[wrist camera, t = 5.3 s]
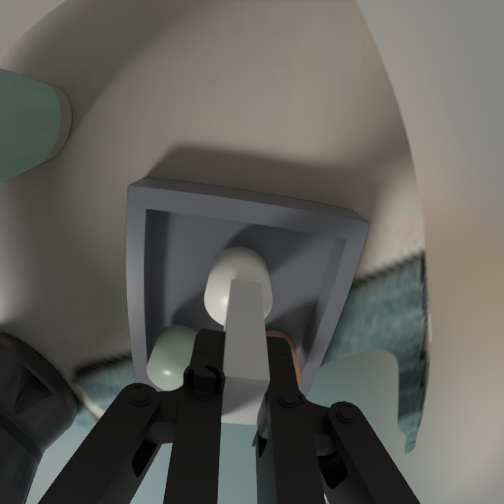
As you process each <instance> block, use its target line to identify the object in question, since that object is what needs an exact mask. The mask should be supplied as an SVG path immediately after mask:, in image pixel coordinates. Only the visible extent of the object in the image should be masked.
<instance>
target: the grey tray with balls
mask: <svg viewBox="0 0 504 504" xmlns="http://www.w3.org/2000/svg"><path fill="white" fill-rule="evenodd" d="M369 227H370V223H369V222H368V221H367V220H366V219H364V218H363V217H362V216H360V215H359V214H358V213H356V212H355V211H354V210H351V209H346V208H341V207H336V206H331V205H326V204H321V203H316V202H311V201H305V200H300V199H295V198H289V197H283V196H278V195H272V194H266V193H260V192H253V191H247V190H241V189H234V188H227V187H220V186H213V185H206V184H198V183H190V182H182V181H174V180H165V179H156V178H147V177H144V178H142V179H140V180H138V181H136V182H134V183H132V184H130V185H128V189H127V209H126V285H127V305H128V320H129V332H130V342H131V352H132V360H133V368H134V376H135V383H144V384H148V385H150V386H151V387H153V388H155V389H157V390H162V389H161V388H159V387H157V386H156V385H155V384H154V383H153V382H152V381H151V380H150V379H149V377H148V375H147V365H148V362H149V359H150V356H151V354H152V351H153V348H154V345H155V342H156V340H157V337H158V334H159V333H160V331H161V330H163V329H164V328H166V327H168V326H172V325H182V326H186V327H189V328H192V329H193V330H195V331H197V332H199V331H200V330H201V329H202V328H203V329H210V330H217V331H224V325H221V324H220V323H218V322H216V321H215V320H214V319H213V318H212V317H211V316H210V315H209V313H208V312H207V310H206V307H205V303H204V296H205V291H206V286H207V282H208V277H209V273H210V268H211V265H212V262H213V260H214V259H215V257H216V256H217V255H218V254H219V253H221V252H222V251H224V250H226V249H228V248H232V247H246V248H249V249H252V250H254V251H256V252H257V253H259V254H260V255H261V256H262V257H263V259H264V260H265V262H266V264H267V267H268V273H269V278H270V284H271V290H272V296H273V304H272V308H271V310H270V312H269V314H268V315H267V317H266V318H265V319H264V321H265V331H268V330H277V331H282V332H284V333H286V334H288V335H289V336H290V337H291V338H292V339H293V341H294V345H295V349H296V354H297V359H298V363H299V368H300V372H301V379H300V381H299V383H298V388H299V391H301V392H302V393H303V394H304V395H305V398H306V396H307V394H308V392H309V390H310V387H311V385H312V383H313V381H314V379H315V376H316V374H317V372H318V369H319V367H320V365H321V363H322V360H323V358H324V355H325V353H326V351H327V348H328V346H329V343H330V341H331V338H332V336H333V333H334V331H335V328H336V326H337V323H338V320H339V318H340V315H341V312H342V310H343V307H344V304H345V301H346V299H347V296H348V293H349V290H350V287H351V284H352V281H353V278H354V275H355V272H356V269H357V266H358V263H359V260H360V257H361V254H362V250H363V247H364V244H365V240H366V237H367V234H368V230H369ZM163 391H165V390H163Z"/></svg>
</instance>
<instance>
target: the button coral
mask: <svg viewBox="0 0 504 504" xmlns="http://www.w3.org/2000/svg"><path fill="white" fill-rule="evenodd" d="M265 332H266V336H273V337H283V338H285V339H286V340H287V342H288V343H289V344H290V346H291V351H292V356H293V361H294V362H293V363H294V366H295V372H296V377H297V382H298V383H299V381H300V379H301V372H300V368H299V363H298V359H297V354H296V349H295V345H294V341H293V339H292V338H291V337H290V336H289V335H288V334H286V333H284V332H282V331H277V330H268V331H265Z"/></svg>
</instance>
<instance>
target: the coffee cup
mask: <svg viewBox="0 0 504 504" xmlns="http://www.w3.org/2000/svg"><path fill="white" fill-rule="evenodd" d="M71 124H72V110H71V105H70V102H69V99H68V97H67V96H66V94H65V93H64V92H63V91H62V90H61V89H59V88H57V87H54V86H51V85H49V84H46V83H43V82H41V81H38V80H35V79H32V78H29V77H26V76H23V75H20V74H17V73H13V72H10V71H7V70H4V69H0V184H2V183H4V182H6V181H8V180H9V179H11V178H13V177H15V176H17V175H19V174H21V173H23V172H25V171H27V170H29V169H31V168H33V167H35V166H37V165H40V164H42V163H44V162H46V161H48V160H50V159H52V158H53V157H55V156H56V155H57V154H58V153H59V152H60V151H61V149H62V148H63V146H64V145H65V143H66V141H67V139H68V136H69V133H70V130H71Z"/></svg>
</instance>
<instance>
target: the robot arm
mask: <svg viewBox="0 0 504 504" xmlns="http://www.w3.org/2000/svg"><path fill="white" fill-rule="evenodd" d="M293 362H294V361H293V356H292V351H291V346H290V344H289V343H288V342H287V340H286V339H285V338H283V337H273V336H266V332H265V321H264V311H263V301H262V291H261V283H258V282H250V281H243V280H236V279H231V283H230V289H229V296H228V302H227V309H226V316H225V322H224V331H217V330H210V329H203V328H202V329H201V330H200V331H199V332H198V333H197V334H196V337H195V341H194V346H193V351H192V356H191V360H190V365H189V366H188V367H186V369H185V371H184V373H183V385H182V386H180V387H179V388H177V389H175V390H171V391H161V392H157V391H156V390H155V388H153V387H151V386H150V385H148V384H144V383H133V384H130V385H127V386H126V387H125V388H124V389H122V391H121V392H120V393H119V394H118V396H117V397H116V398H115V400H114V401H113V402H112V404H111V405H110V406H109V408H108V409H107V410H106V412H105V413H104V414H103V416H102V417H101V418H100V420H99V421H98V422H97V423H96V425H95V426H94V427H93V429H92V430H91V431H90V433H89V434H88V435H87V437H86V438H85V440H84V441H83V442H82V444H81V445H80V446H79V448H78V449H77V450H76V452H75V453H74V454H73V456H72V457H71V458H70V460H69V461H68V462H67V464H66V465H65V467H64V468H63V469H62V471H61V472H60V473H59V475H58V476H57V478H56V479H55V480H54V482H53V483H52V484H51V486H50V487H49V489H48V490H47V491H46V493H45V495H44V496H43V497H42V498H41V500H40V501H39V503H38V504H130V502H131V500H132V498H133V497H134V495H135V493H136V491H137V489H138V487H139V486H140V484H141V482H142V480H143V478H144V477H145V475H146V473H147V471H148V469H149V467H150V466H151V464H152V462H153V460H154V458H155V456H156V455H157V453H158V451H159V449H160V447H161V445H162V444H164V443H173V445H172V451H171V457H170V463H169V469H168V476H167V482H166V488H165V495H164V502H163V504H217V498H218V475H219V455H220V435H221V422H225V423H235V424H247V425H255V424H256V421H257V420H258V429H257V432H256V435H255V437H254V440H253V444H252V446H255V444H256V472H257V473H256V474H257V504H326V501H325V496H326V498H327V500H328V502H329V504H420V502H419V501H418V499H417V498H416V496H415V495H414V493H413V491H412V490H411V488H410V487H409V485H408V484H407V482H406V480H405V479H404V477H403V476H402V474H401V473H400V471H399V470H398V468H397V466H396V465H395V463H394V462H393V460H392V459H391V457H390V455H389V454H388V452H387V451H386V449H385V448H384V446H383V444H382V443H381V441H380V440H379V438H378V437H377V435H376V433H375V432H374V430H373V429H372V427H371V426H370V424H369V423H368V421H367V419H366V418H365V416H364V415H363V413H362V412H361V410H360V409H359V408H358V407H357V406H355V405H354V404H352V403H349V402H345V401H343V402H337V403H334V404H332V406H331V407H330V408H328V407H324V406H320V405H317V404H314V403H312V402H310V401H308V400H307V399H306V398H305V395H304V394H303V393H302V392H301V391H299V388H298V382H297V377H296V372H295V366H294V363H293ZM77 412H78V404H77V401H76V398H75V396H74V394H73V392H72V390H71V389H70V387H69V386H68V384H67V383H66V382H65V380H64V379H63V378H62V377H61V375H60V374H59V373H58V372H57V371H56V370H55V369H54V368H53V367H52V366H51V365H50V364H49V363H48V362H47V361H46V360H45V359H44V358H43V357H42V356H40V355H39V354H38V353H37V352H36V351H34V350H33V349H32V348H30V347H29V346H28V345H26V344H25V343H23V342H22V341H20V340H18V339H17V338H15V337H13V336H10V335H8V334H5V333H0V504H25V503H26V500H27V496H28V493H29V491H30V488H31V485H32V482H33V479H34V476H35V474H36V471H37V468H38V465H39V463H40V461H41V458H42V456H43V454H44V452H45V450H46V449H47V448H48V447H49V446H51V445H52V444H53V443H54V442H55V441H56V440H57V439H58V438H59V437H60V436H61V435H62V434H63V433H64V432H65V431H66V430H67V429H68V428H69V427H70V426H71V425H72V423H73V421H74V419H75V416H76V414H77ZM324 494H325V495H324Z"/></svg>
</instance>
